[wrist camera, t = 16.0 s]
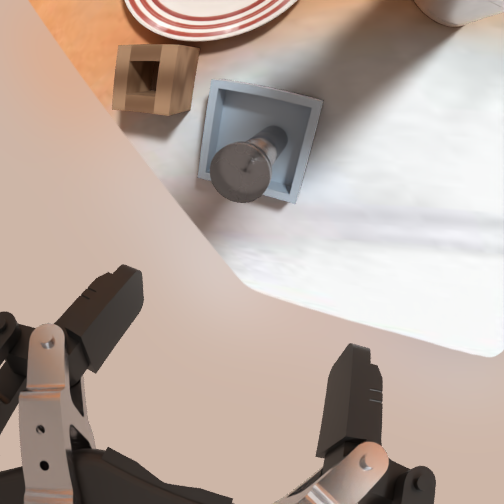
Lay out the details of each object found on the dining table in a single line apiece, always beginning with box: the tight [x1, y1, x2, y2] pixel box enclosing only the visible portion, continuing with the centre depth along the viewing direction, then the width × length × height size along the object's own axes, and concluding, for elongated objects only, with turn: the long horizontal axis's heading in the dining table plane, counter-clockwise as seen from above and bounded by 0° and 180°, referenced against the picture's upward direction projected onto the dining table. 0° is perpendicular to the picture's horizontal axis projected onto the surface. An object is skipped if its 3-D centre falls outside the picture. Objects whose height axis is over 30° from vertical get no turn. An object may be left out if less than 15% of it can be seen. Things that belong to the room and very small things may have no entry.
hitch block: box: [112, 44, 200, 116], centre depth 32 cm, size 9×9×6 cm
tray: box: [198, 79, 324, 204], centre depth 35 cm, size 13×13×4 cm
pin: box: [210, 126, 288, 203], centre depth 30 cm, size 5×5×15 cm
